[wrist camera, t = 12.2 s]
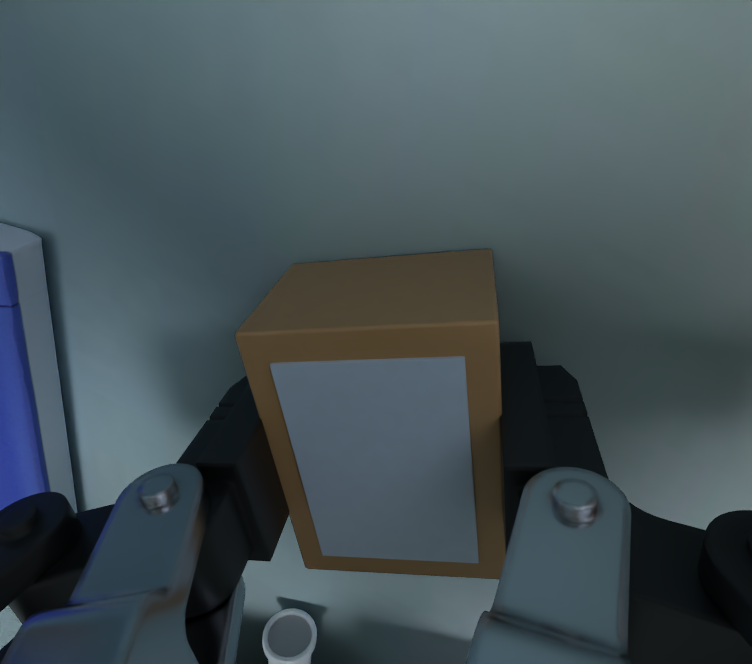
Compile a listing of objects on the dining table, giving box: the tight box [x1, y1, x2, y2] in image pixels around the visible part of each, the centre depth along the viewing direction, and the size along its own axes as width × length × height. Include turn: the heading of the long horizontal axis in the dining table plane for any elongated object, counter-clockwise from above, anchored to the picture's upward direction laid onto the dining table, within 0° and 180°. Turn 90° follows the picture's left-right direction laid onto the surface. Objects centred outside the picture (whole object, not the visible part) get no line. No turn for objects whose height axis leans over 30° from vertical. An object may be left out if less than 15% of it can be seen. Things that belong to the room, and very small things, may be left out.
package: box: [235, 249, 506, 579], centre depth 10 cm, size 6×4×3 cm
